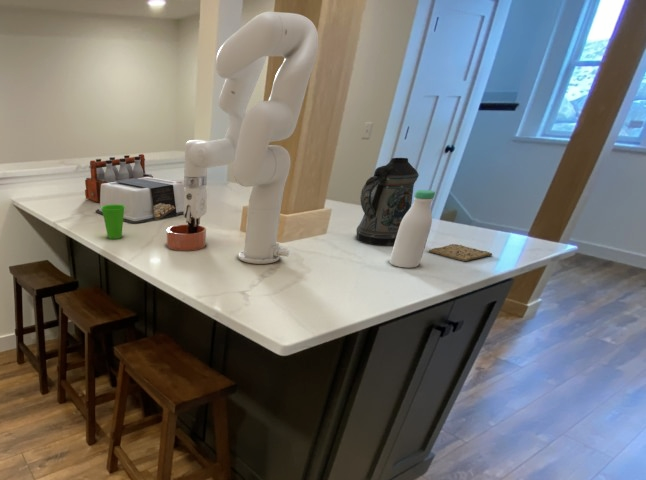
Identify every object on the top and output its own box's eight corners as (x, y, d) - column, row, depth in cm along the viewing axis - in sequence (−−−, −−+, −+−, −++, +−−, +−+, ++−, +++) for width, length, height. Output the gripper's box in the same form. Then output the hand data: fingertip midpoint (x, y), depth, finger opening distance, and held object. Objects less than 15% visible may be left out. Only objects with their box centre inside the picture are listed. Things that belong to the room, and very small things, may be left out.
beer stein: (414, 237, 152) (439, 156, 139) (396, 251, 141) (421, 164, 127) (364, 231, 162) (382, 154, 149) (343, 243, 151) (361, 161, 137)
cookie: (427, 251, 139) (428, 248, 138) (454, 245, 143) (455, 242, 142) (465, 261, 130) (466, 258, 129) (492, 255, 133) (494, 252, 133)
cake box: (194, 212, 199) (195, 182, 193) (134, 224, 184) (133, 192, 178) (148, 201, 224) (148, 174, 217) (92, 212, 209) (89, 183, 202)
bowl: (211, 242, 158) (211, 226, 155) (195, 252, 149) (196, 235, 146) (177, 238, 164) (177, 223, 161) (160, 248, 155) (160, 232, 152)
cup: (123, 240, 165) (122, 209, 159) (100, 240, 166) (97, 209, 160) (128, 234, 172) (127, 204, 166) (106, 234, 174) (104, 204, 168)
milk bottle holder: (81, 200, 235) (77, 159, 225) (134, 190, 252) (133, 152, 242) (103, 205, 221) (100, 162, 210) (157, 195, 238) (157, 155, 227)
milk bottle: (417, 269, 126) (441, 194, 115) (387, 266, 130) (408, 192, 119) (419, 262, 131) (442, 189, 121) (390, 258, 135) (410, 187, 124)
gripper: (196, 186, 143) (194, 243, 153) (214, 178, 154) (211, 232, 164) (175, 184, 146) (174, 241, 156) (194, 177, 157) (192, 231, 167)
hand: (193, 236), depth 160 cm, fingers closed on bowl, 1 cm apart
